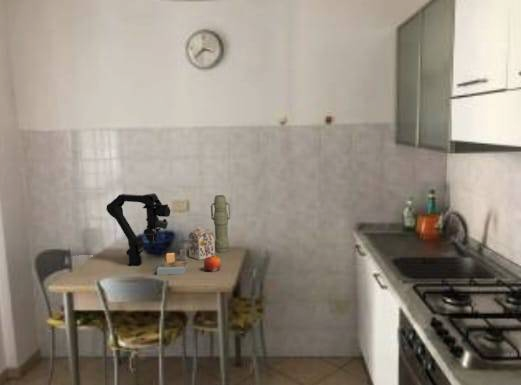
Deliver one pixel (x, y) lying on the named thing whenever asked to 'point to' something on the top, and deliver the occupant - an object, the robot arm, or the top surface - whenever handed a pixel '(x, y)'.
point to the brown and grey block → (177, 260)
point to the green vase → (220, 223)
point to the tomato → (212, 263)
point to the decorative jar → (201, 243)
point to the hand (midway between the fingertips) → (153, 243)
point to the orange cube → (170, 257)
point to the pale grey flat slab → (170, 270)
